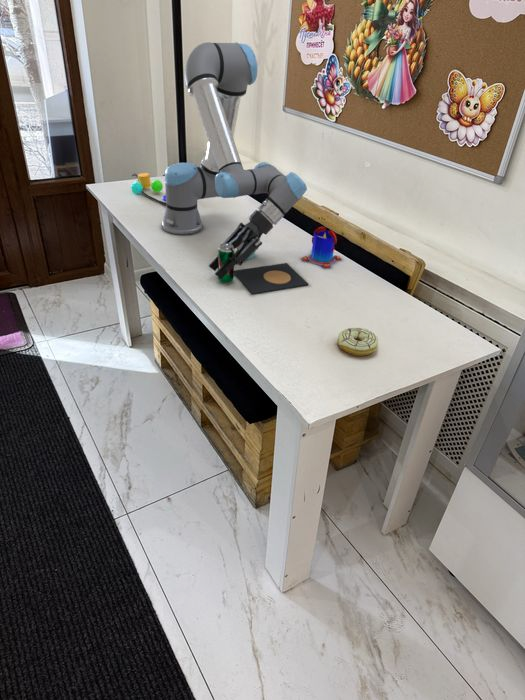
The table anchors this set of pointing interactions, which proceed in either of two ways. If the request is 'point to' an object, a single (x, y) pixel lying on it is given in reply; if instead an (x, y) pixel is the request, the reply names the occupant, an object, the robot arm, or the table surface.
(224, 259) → the soda can
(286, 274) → the mat
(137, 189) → the shape set
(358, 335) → the decorated donut
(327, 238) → the fantasy tower
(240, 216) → the table surface
